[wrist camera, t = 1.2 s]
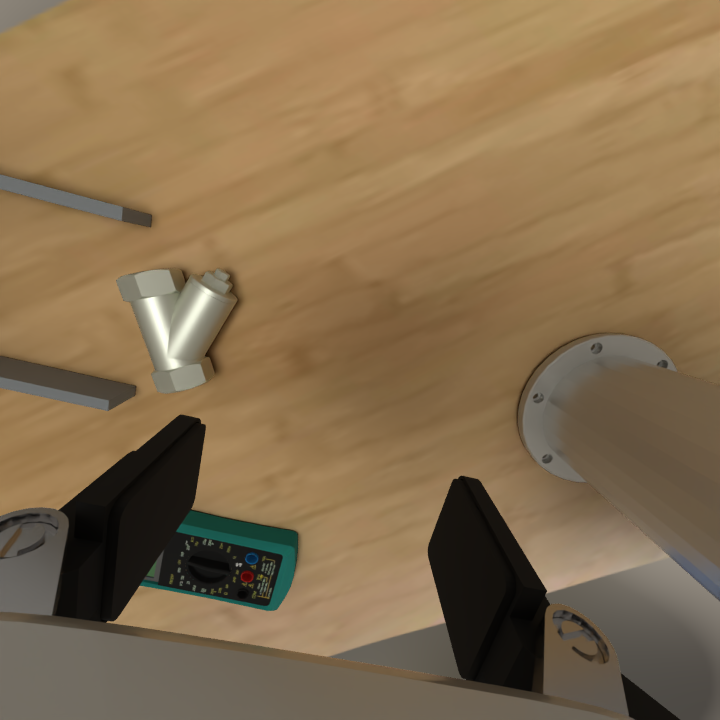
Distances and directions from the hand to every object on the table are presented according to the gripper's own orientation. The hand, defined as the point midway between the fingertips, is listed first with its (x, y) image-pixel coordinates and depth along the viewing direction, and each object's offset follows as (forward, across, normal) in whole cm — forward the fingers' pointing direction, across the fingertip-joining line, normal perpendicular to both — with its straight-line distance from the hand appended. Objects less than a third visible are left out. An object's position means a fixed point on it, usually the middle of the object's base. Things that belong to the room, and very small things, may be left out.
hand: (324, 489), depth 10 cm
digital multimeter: (+17, +7, +20) cm, 27 cm away
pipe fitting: (+16, +11, 0) cm, 20 cm away
